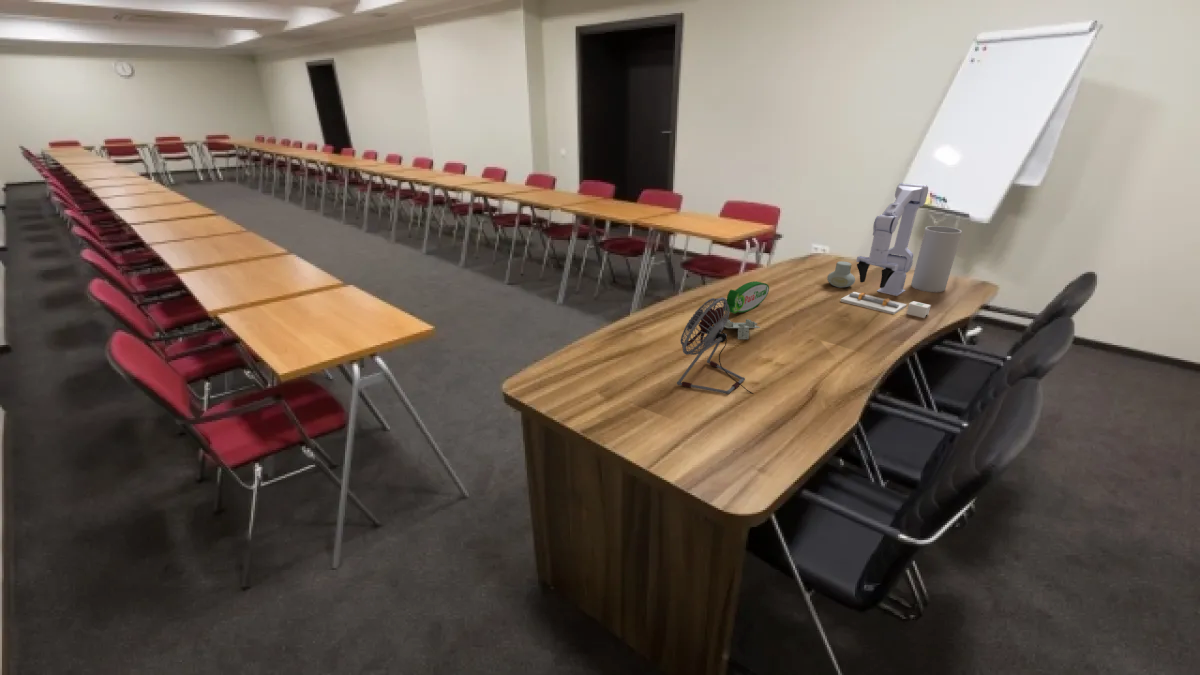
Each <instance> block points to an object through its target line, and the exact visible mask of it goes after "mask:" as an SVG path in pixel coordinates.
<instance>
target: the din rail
mask: <svg viewBox="0 0 1200 675" xmlns="http://www.w3.org/2000/svg"><path fill="white" fill-rule="evenodd" d="M860 293H861V294H859V295H858V294H854V293H853V292H851V293H849V294H850V295H849V294H848V295H849V296H851V297H855V298H858V299H860V300H862V299H863V300H867V301H871V302H875V303H879V304H882V305H884V306H886V305H887V306H891V307H895V308H898V307H899V304H895V303H891V302H889V301H890V300H891V299H890V298H884V299H885V300H879V299H874V298H870V297H866V296H865V294H866V292H860ZM866 295H867V294H866Z"/></svg>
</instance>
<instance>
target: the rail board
mask: <svg viewBox="0 0 1200 675" xmlns="http://www.w3.org/2000/svg"><path fill="white" fill-rule="evenodd" d="M852 293H854V294H858V295H859V294H861V293H862V292H856V291H853V292H852ZM849 295H850V293H849V294H848V295H845V296H844V297H842V298H840V302H841V303H845V304H849V305H854V306H856V307H857V306H858V307H862V308H866V309H870V310H875V311H876V312H877V311H878V312H881V313H886V314H889V315H895V314H897V313H898V312H900V311H901V310H904V309H905V308H906V307H907V303H903V302H898V301H894V300H891V299H890V301H889V302H891V303H895V304H899V307H898V308H895V307H891V306H887V305H886V306H884V305H882V304H879V303H875V302H871V301H867V300H863V299H862V300H860V299H858V298H855V297H851V296H849ZM865 296H866V297H870V298H874V299H879V300H885V299H886V298H882V297H878V296H874V295H869V294H865Z"/></svg>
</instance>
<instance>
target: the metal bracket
mask: <svg viewBox="0 0 1200 675" xmlns="http://www.w3.org/2000/svg"><path fill="white" fill-rule="evenodd" d="M724 328H726V329H737V339H738V340H749V336H750V335H749V334H750V333H749V332H750V329H761V327H760V326H758V322H755V321H753V320H751V319H748V318H746V319H745V322H734V321H731V320H730V319H728V321H727V323H726V324H725V327H724Z"/></svg>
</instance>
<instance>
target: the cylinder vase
mask: <svg viewBox="0 0 1200 675" xmlns="http://www.w3.org/2000/svg"><path fill="white" fill-rule="evenodd" d="M961 236H962V230H961V229H958V228H955V227H950V226H943V225H942V226H939V225H932V226H931V225H929V226H926V227H925V229H924V232H923V236H922V240H921V244H920V248H919V252H918V256H917V259H916V263H915V268H914V273H913V276H912V280H911V283H910V285H911V288H913V289H914V290H917V291H921V292H925V291H926V292H927V293H943V292H944V291H946V288H947V285H948V281H949V278H950V273H951V270H952V268H953V263H954V260H955V256H956V253H957V249H958V247H959V243H960V239H961Z"/></svg>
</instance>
